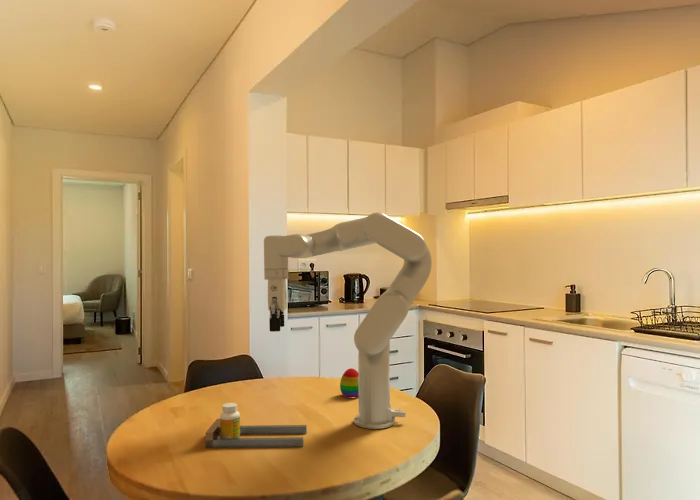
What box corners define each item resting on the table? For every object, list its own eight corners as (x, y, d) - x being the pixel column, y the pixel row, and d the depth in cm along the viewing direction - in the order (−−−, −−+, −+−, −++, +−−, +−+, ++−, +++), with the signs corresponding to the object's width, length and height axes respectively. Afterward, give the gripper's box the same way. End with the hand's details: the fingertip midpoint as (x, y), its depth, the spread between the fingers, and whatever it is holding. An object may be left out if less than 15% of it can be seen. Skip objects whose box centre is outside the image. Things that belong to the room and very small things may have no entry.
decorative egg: (335, 395, 177) (335, 368, 177) (353, 391, 182) (353, 364, 182) (349, 400, 171) (348, 372, 171) (367, 396, 175) (367, 368, 176)
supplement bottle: (235, 444, 132) (234, 408, 132) (216, 442, 133) (216, 407, 133) (243, 436, 138) (242, 402, 138) (225, 435, 139) (225, 401, 139)
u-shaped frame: (306, 431, 141) (306, 418, 141) (302, 446, 130) (302, 431, 130) (216, 432, 141) (216, 418, 141) (205, 447, 130) (205, 432, 130)
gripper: (284, 275, 145) (285, 333, 145) (291, 273, 162) (292, 324, 162) (259, 275, 145) (260, 333, 145) (268, 273, 162) (269, 325, 162)
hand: (277, 328), depth 153 cm, fingers open, 9 cm apart
